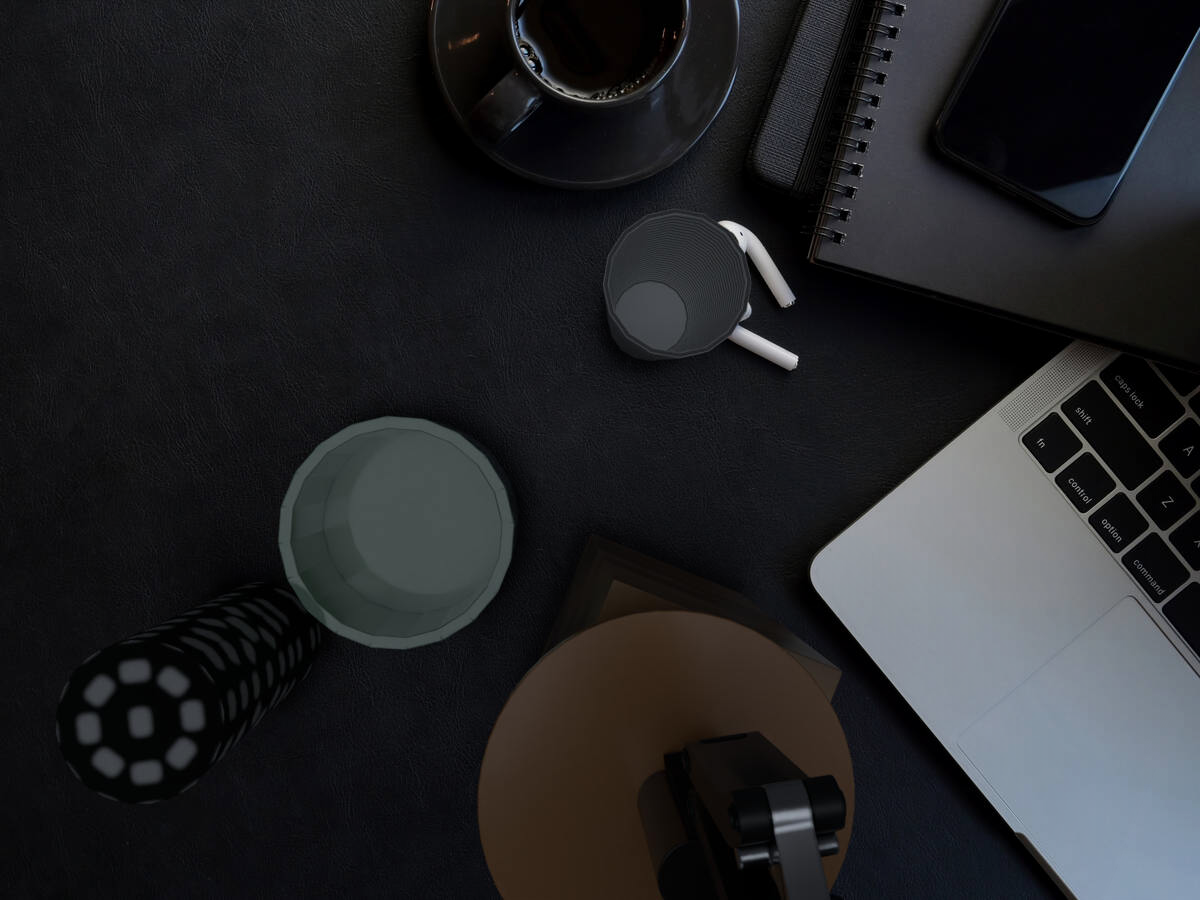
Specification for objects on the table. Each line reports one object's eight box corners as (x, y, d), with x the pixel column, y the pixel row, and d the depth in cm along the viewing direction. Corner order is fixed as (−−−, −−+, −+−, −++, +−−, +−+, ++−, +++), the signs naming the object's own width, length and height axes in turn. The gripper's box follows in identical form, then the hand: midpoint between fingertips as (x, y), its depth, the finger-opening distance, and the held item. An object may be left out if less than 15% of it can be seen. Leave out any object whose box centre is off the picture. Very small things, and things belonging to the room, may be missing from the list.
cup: (619, 396, 68) (640, 382, 53) (572, 290, 68) (578, 244, 53) (724, 349, 69) (775, 321, 53) (677, 243, 69) (715, 184, 53)
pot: (472, 652, 68) (460, 683, 59) (283, 577, 67) (242, 597, 58) (548, 466, 68) (548, 469, 59) (361, 389, 67) (332, 381, 58)
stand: (679, 744, 69) (749, 904, 45) (528, 684, 68) (517, 814, 44) (741, 593, 69) (843, 671, 45) (591, 532, 68) (613, 578, 44)
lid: (748, 1044, 39) (797, 1187, 31) (412, 884, 38) (379, 992, 31) (913, 708, 39) (1000, 769, 32) (583, 543, 39) (593, 566, 31)
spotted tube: (196, 589, 67) (46, 650, 47) (314, 575, 67) (214, 630, 47) (209, 704, 67) (65, 814, 47) (326, 690, 67) (233, 793, 47)
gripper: (1253, 1811, 15) (818, 974, 38) (1123, 825, 15) (767, 595, 38) (786, 1918, 14) (637, 1005, 38) (649, 903, 14) (585, 621, 38)
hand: (702, 799), depth 38 cm, fingers closed on lid, 3 cm apart
